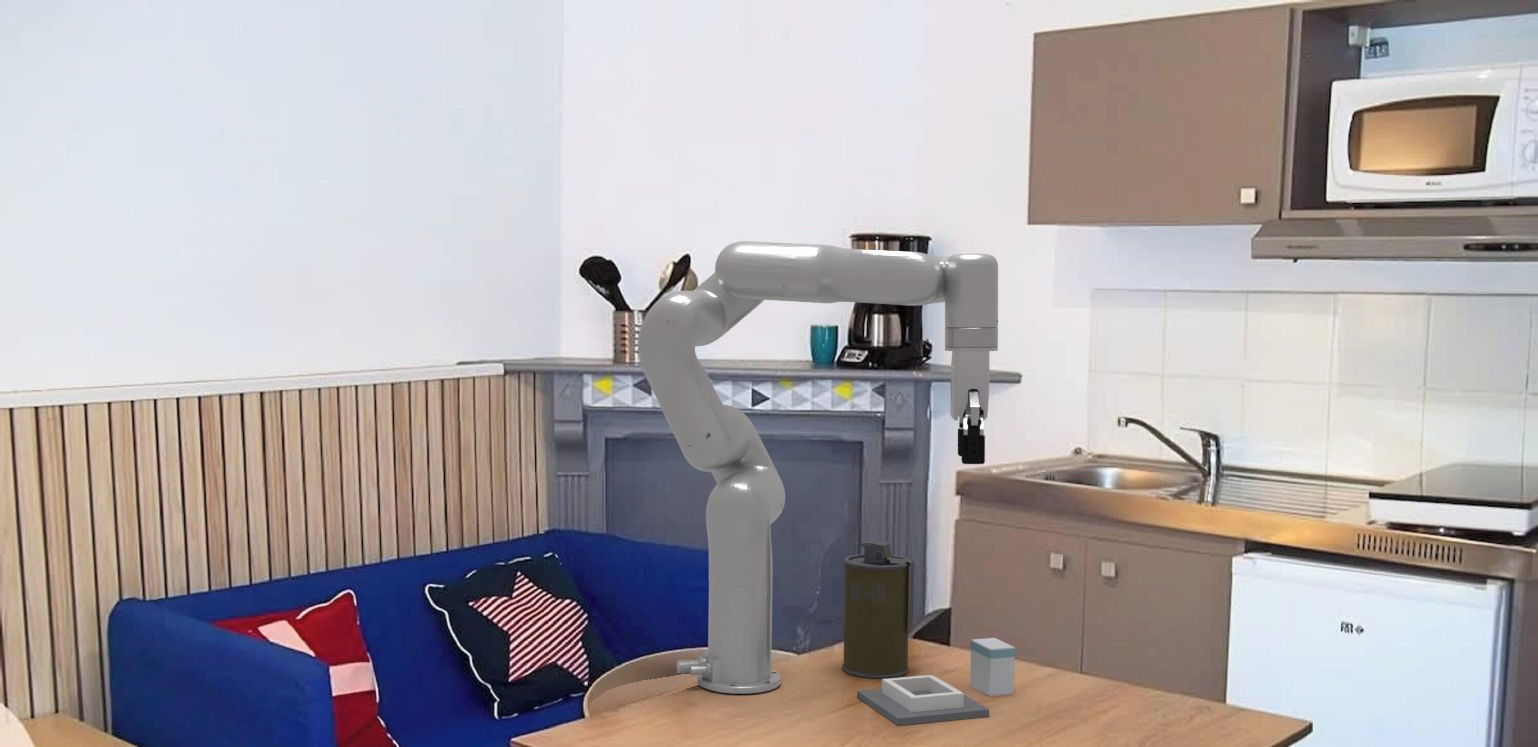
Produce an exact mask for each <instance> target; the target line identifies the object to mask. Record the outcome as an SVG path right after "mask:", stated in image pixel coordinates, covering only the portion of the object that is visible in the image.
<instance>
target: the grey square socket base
mask: <svg viewBox="0 0 1538 747" xmlns="http://www.w3.org/2000/svg"><path fill="white" fill-rule="evenodd" d="M856 698H857V699H858V700H860V701H862V702H863V703H864V704H866V705H867V706H869V707H870V708H872V709H873V710H875V711H876V712H877V713H879V714H881V715H882V716H884V717H885V718H886V719H888V720H889V721H891V722H892V723H894V724H895V725H896V726H909V725H918V724H929V723H939V722H947V721H948V722H949V721H958V720H959V721H960V720H968V719H979V718H987V717H989V718H990V709H989V708H987V706H984V705H982V704H980V703H979V702H977V701H975V699H974V700H973V699H972V698H970V697H969V696H967V695H965V693H964V692H962V691H961V690H959V689H958V688H957V687H956V688H955V687H953V685H950V684H948V683H947V682H945V681H943V680H942V679H940V678H938V677H937V676H935V675H933V674H927V675H926V674H925V675H914V676H903V677H902V676H900V677H895V678H884V679H881V688H872V689H861V690H856Z"/></svg>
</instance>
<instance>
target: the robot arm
mask: <svg viewBox="0 0 1538 747" xmlns="http://www.w3.org/2000/svg"><path fill="white" fill-rule="evenodd" d="M714 266H715V267H714V273H712V274H711V275H710V276H709V277H708V278H707V279H705V280H704V281H703V282H701V284H699V285H698V286H697V287H696V288H695V289H693V290H677V291H674V292H670V293H667V294H666V295H663V297H661V298H659V299H658V300H657V301H655V303H654V304H653V305H652V306H651V307H650V308H649V310H648V312H647V313H646V315H645V316H644V318H643V321H642V323H641V325H640V328H639V332H638V337H637V351H638V359H639V363H640V366H641V368H642V371H643V373H644V376H645V378H646V380H647V383H648V384H649V386H650V388H651V391H652V392H653V394H654V396H655V398H656V401H657V402H658V404H659V406H660V409H661V411H662V413H663V416H664V418H665V420H666V421H667V424H668V426H669V428H670V430H671V432H672V434H673V436H674V437H675V440H676V442H677V444H678V446H679V448H680V450H681V453H682V455H683V457H684V459H685V460H686V461H687V462H688V464H689V465H691V466H692V467H693V468H694V469H695V470H698V471H701V472H708V473H711V475H712V476H713V479H714V480H715V483H716V485H715V486H714V487H713V489H712V490H711V492H710V493H709V496H708V498H707V502H706V508H705V510H706V511H705V522H706V523H705V524H706V533H707V544H708V629H707V630H708V637H707V638H708V639H707V644H708V645H707V646H708V647H707V650H703V651H702V652H701V654H702V655H701V656H697V657H696V659H689V658H688V659H678V660H677V661H676V664H675V665H676V666H675V667H676V672H677V674H685V673H687V674H688V673H689V676H697V678H696V679H697V684H698V685H699V686H700V687H701V688H703V689H705V690H708V691H710V692H711V691H712V692H715V693H716V692H717V693H723V694H735V695H737V694H740V695H746V694H749V695H750V694H759V693H765V692H768V691H772V690H776V689H777V688H778V687H779V686H781V685H782V675H781V673H780V672H778V670H777V671H776V670H775V669H772V638H773V637H772V635H773V634H772V631H773V630H772V628H773V627H772V626H773V549H772V548H773V545H772V532H771V530H772V529H771V525H772V524H773V523H774V522H775V521H776V520H777V519H778V518H779V517H780V515H781V514H782V512H783V510H784V508H785V505H786V504H785V503H786V492H785V487H784V484H783V481H782V479H781V477H780V475H779V472H778V470H777V468H776V467H775V464H774V462H773V461H772V458H771V457H770V454H769V453H768V450H767V449H766V447H765V445H764V442H763V440H762V439H761V437H760V435H759V433H758V431H757V429H756V428H755V426H754V424H753V422H752V421H751V420H750V419H749V417H748V416H747V415H746V414H745V413H744V412H743V411H742V410H740V409H739V408H737V407H735V406H732V405H728V404H723V402H722V400H721V398H720V397H719V395H718V393H717V391H716V389H715V387H714V385H713V382H712V380H711V378H710V376H709V375H708V373H707V371H706V369H705V368H704V366H703V365H702V364H701V361H699V359H698V357H697V353H696V347H703V346H707V345H710V344H712V343H714V342H716V341H717V340H719V339H720V338H722V337H723V336H724V335H725V334H727V333H728V332H729V331H730V330H731V329H733V328H734V327H736V325H737V324H738V323H740V322H741V321H742V320H743V319H744V318H745V317H747V316H748V315H749V314H750V313H752V312H753V311H754V310H755V309H756V308H757V307H758V306H760V305H761V304H762V303H763V302H764V301H781V302H796V303H797V302H798V303H812V304H813V303H814V304H815V303H816V304H836V303H848V302H849V303H860V304H861V303H862V304H863V303H864V304H879V305H881V304H884V305H897V306H908V307H909V306H910V307H911V306H925V305H926V306H927V305H931V304H937V303H938V304H939V303H944V351H946V352H952V353H951V363H950V364H951V367H950V414H949V415H950V417H951V418H952V420H954V421H959V422H958V427H959V428H957V455H958V456H959V457H961V463H962V464H963V465H984V464H985V462H986V460H985V459H986V435H985V434H984V433H985V432H984V429H985V428H984V421H985V420H987V419H988V414H989V413H988V411H989V399H990V398H989V397H990V352H996V351H999V347H998V346H999V328H998V327H999V263H998V260H997V259H996V257H995V256H994V255H992V254H989V253H958V254H957V253H956V254H953V255H950V256H943V255H934V254H928V253H924V252H919V251H918V252H917V251H908V250H907V251H906V250H905V251H904V250H903V251H902V250H901V251H899V250H878V249H877V250H875V249H860V248H859V249H858V248H844V247H838V246H835V245H829V244H828V245H827V244H818V243H817V244H815V243H813V244H812V243H810V244H809V243H788V242H773V241H772V242H770V241H769V242H768V241H767V242H766V241H749V240H748V241H747V240H746V241H735V242H733V243H730V244H728V245H726V246H725V247H724V248H723V249H722V250H721V251H720V253H719V254H718V255H717V258H716V261H715V265H714ZM958 419H959V420H958Z"/></svg>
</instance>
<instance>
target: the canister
mask: <svg viewBox="0 0 1538 747" xmlns="http://www.w3.org/2000/svg"><path fill="white" fill-rule="evenodd" d="M859 547H860V548H861V547H862V548H863V547H864V548H863V550H864V552H863V553H859V554H853V555H852V554H851V555H847V556H846V557H844V560H843V562H844V608H843V609H844V613H843V615H844V618H843V623H844V624H843V664H842V665H841V668H842V671H843V672H845V673H846V674H848V675H852V676H855V677H859V678H867V679H881V680H882V679H889V678H899V677H902V676H905V675H906V674H908V672H909V671H910V668H909V665H908V664H909V663H908V662H909V633H911V632H912V631H913V629H914V601H915V600H914V596H915V595H914V594H915V593H914V592H915V560H914V559H910V558H908V557H905V556H901V555H896V554H892V551H891V543H890V542H889V541H875V540H866V541H864V542H862V543H861V544H859Z"/></svg>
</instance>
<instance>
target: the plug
mask: <svg viewBox="0 0 1538 747" xmlns="http://www.w3.org/2000/svg"><path fill="white" fill-rule="evenodd" d="M1015 657H1016V647H1015V646H1013V645H1010V644H1008V643H1007V642H1005V641H1002V640H1001V639H998V638H997V637H988V638H977V639H976V638H975V639H970V673H969V674H970V679H969V680H970V681H969V682H970V684H969V685H970V686H971V687H972V688H974V689H976V690H978V691H980V692H981V693H983V694H984V695H987V696H988V697H997V696H1007V695H1008V696H1009V695H1014V692H1015V689H1014V688H1015Z"/></svg>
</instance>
